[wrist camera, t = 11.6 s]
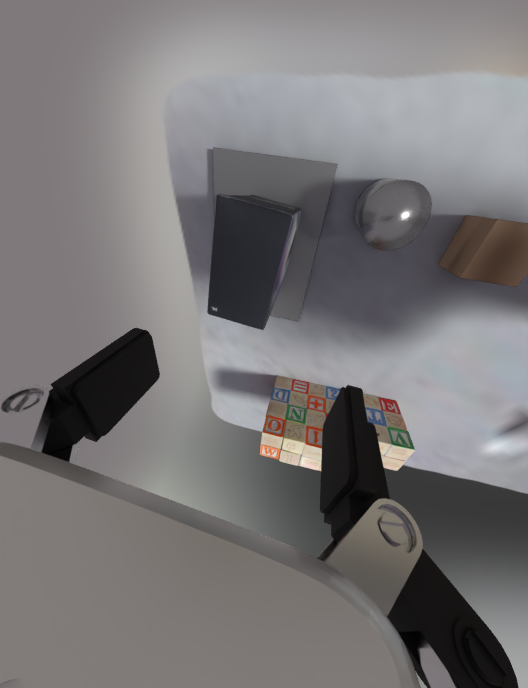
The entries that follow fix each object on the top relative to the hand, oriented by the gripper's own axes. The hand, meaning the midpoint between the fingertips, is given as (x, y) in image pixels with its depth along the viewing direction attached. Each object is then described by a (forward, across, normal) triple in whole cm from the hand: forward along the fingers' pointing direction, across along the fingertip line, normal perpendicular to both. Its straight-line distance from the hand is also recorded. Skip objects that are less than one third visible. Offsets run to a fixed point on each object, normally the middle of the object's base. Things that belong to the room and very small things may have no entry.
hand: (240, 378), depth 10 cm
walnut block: (+23, -18, -5) cm, 30 cm away
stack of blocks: (+23, -12, +23) cm, 34 cm away
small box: (+21, +4, -1) cm, 22 cm away
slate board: (+22, +4, -1) cm, 23 cm away
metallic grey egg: (+22, -7, -7) cm, 25 cm away
